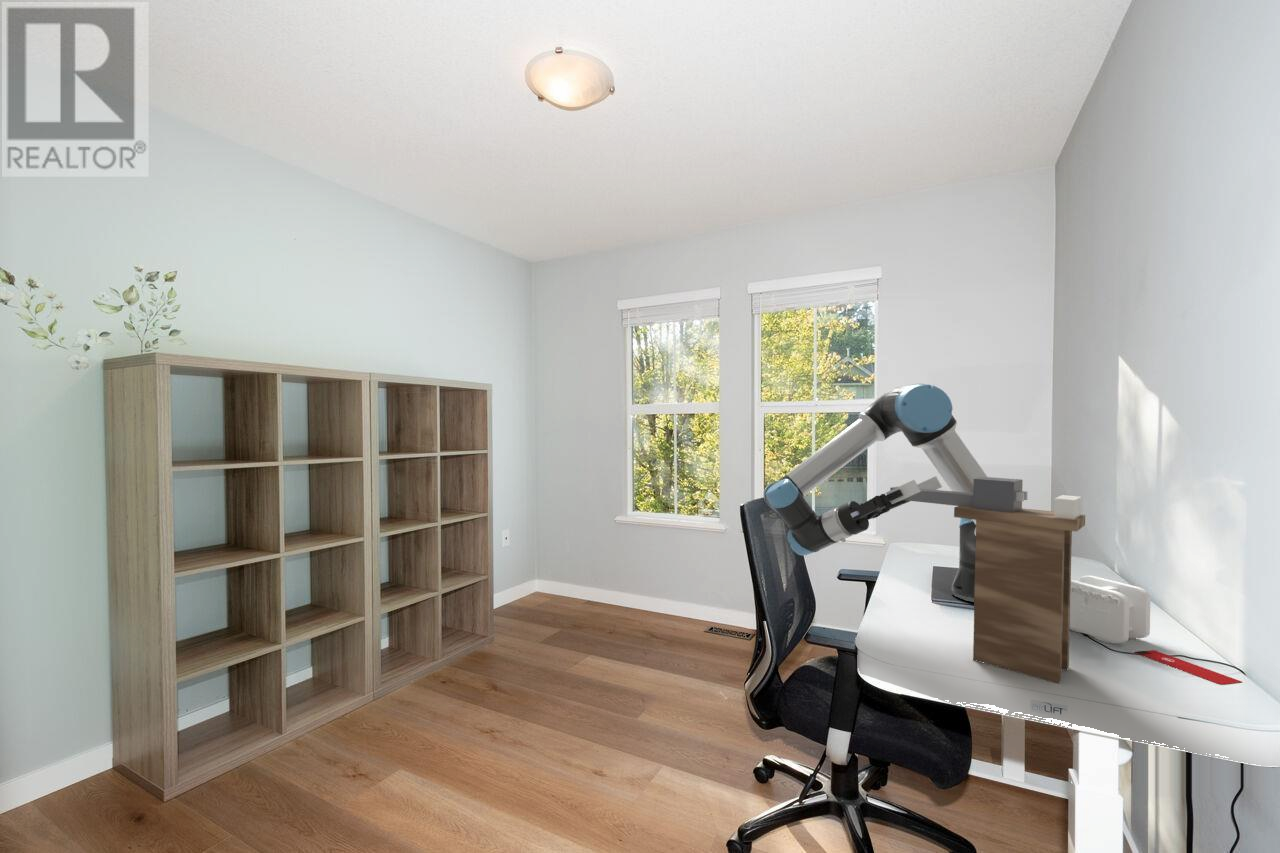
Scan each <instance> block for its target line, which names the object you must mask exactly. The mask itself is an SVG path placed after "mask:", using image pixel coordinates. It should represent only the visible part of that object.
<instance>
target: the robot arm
mask: <svg viewBox="0 0 1280 853" xmlns="http://www.w3.org/2000/svg"><path fill="white" fill-rule="evenodd" d="M953 410H954V408H953V404H952V401H951V398H950V397H949V396H948V394H947V393H946V392H945V391H944V390H943V389H941V388H939V387H938V386H935V385H932V384H925V383H915V384H910V385H907V386H899V387H893V388H892V389H889V390H887V391H886V392H884V393H883V394H882V395H881V396H880V397H878V398H877V399H876V400H874V401H873V402H872V403H871V404H870V405H868V406H867V407H866V408H865V409H864V410H862V411H861V412H860V413H858V419H857V420H855V421H854V422H852V424H850V425H849V426H848V427H846V428H844V430H842V431H840V433H839V434H838V435H836V436H835V437H834V438H832V439H831V440H830V441H828V442H827V443H826V444H824V445H822V447H821V448H819V449H818V450H816V451H815V452H814V453H812V454H811V455H810V456H809V457H807V458H806V459H805V460H804V461H802V462H801V463H800V464H798V465H797V466H795V467H794V468H793V469H792V470H790V471H789V472H788V473H786V474H785V475H784V476H783V477H781V478H780V479H778V480H777V481H773V482H770V483H768V484H767V485H766V486H765V488H764V491H763V499H764V501H765V504H766V505H767V506H768V507H769V508H770V509H771V510H774V512H775V513H777V515H778V516H780V518H781V519H782V521H784V523H785V524H786V525H787V526H788V528H789V530H788V531H787V536H786V537H787V541H788V543H789V545H790V548H791V549H792V551H793V552H794V553H795V554H797V555H798V556H807V555H810V554H813V553H817V552H819V551H821V550H823V549H825V548H827V547H829V546H832V545H833V544H836V543H839V542H841V543H845V542H846V541H847V540H846V539H848V538H850V537H852V536H855V535H858V534H860V533H863V532H864V531H867V530H868V528H869V527H870V522H869V520H871V519H872V520H873V519H877V518H878V517H879V516H881V515H883V514H885V513H888V512H890V510H893V509H895V508H897V507H899V506H902V505H905V504H907V503H909V502H911V501H907V500H903V499H905V498H907V497H910V496H912V495H914V494H916V493H919V492H921V491H920V489H931V490H940V489H942V488H943V486H942V485H941V484H942V483H941V482H940V481H939V478H938V477H937V476H936V475H935V476H933V477H931V478H928V479H926V480H924V481H922V482H920V483H917V482H916V480H915V479H913V480H910V481H908V482H905V483H904V484H902V485H899V486H898V487H897V486H896V487H897V488H895V489H893V490H891V491H890V490H889V491H888V490H887V492H885V493H881V494H880V495H875V496H874V497H872V498H871V499H869V500H867V501H865V502H861V503H858V502H857V501H855V500H850V501H846V502H845V503H843V504H841V505H839V506H838V507H837V506H836V507H834V508H831V509H830V510H828V511H826V512H824V513H822V514H820V515H817V513H816V512H815V511H814V510H813V508H812V507H811V506H810V504H809V503H808V502H807V499H805V498H804V497H805V496H807V495H808V494H809V493H810V492H811V491H814V489H815V488H817V487H818V486H820V485H821V484H822V483H823V482H825V481H826V480H827V479H829V478H830V477H832V476H833V475H834V474H835V473H836V472H838V471H840V470H841V468H843V467H845V466H846V465H847V464H848V463H850V462H851V461H853V460H854V459H855V458H856V457H858V456H859V455H861V454H862V453H863V452H865V451H866V450H868V449H869V448H870V447H871V446H872V445H874V444H875V443H877V442H884V441H885V440H887V439H888V438H889V437H891V436H893V435H895V434H897V433H901V432H902V434H903V435H904V436H905V438H906V439H907V441H908V442H909V443H910V445H911V446H912V447H914V448H919V449H921V450H922V451H923V453H924V454H925V455H926V456H927V458H928V459H929V461H930V462H931V464H932V465H933V466H934V468H935V469H936V471H937V472H938V474H939V475H940V476H941V477H942V479H943V481H944V482H945V483H946V485H947V486H948V487H949V489H950V491H953V492H965V493H973V481H974V479H975V478H980V477H988V476H987V474H986V473H985V471H984V470H983V468H982V467H981V465H980V464H979V463H978V461H977V460H976V458H975V457H974V456H973V455H972V453H971V452H970V450H969V448H968V447H967V446H966V444H965V443H964V441H963V440H962V438H961V437H960V436H959V434H958V433H957V432H956V428H957V425H958V424H957V423H958V422H957V420H956V419H955V417H954V415H953V414H952V413H953ZM919 488H920V489H919ZM959 521H960V522H959V526H958V527H959V552H958V555H959V559H958V560H959V564H958V565H959V566H958V569H957V571H956V573H955V576H954V580H953V581H952V584H951V590H952V591H953V592H954V593H956V594H959V595H962V596H966V597H971V598H974V596H975V550H976V520H974V519H966V518H960V520H959Z"/></svg>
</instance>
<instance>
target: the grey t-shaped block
mask: <svg viewBox="0 0 1280 853" xmlns="http://www.w3.org/2000/svg"><path fill="white" fill-rule="evenodd" d="M897 487H899V486H894V487H893V486H892V487H889V488H890V489H889V491H891V490H893V489H895V488H897ZM919 489H920V488H919ZM920 491H921V492H919V493H916V494H914V495H912V496H910V497H907V498H905V499H903V500H907V501H910V502H917V503H927V504H936V505H946V506H954V507H957V506H964V507H973V508H974V509H983V510H993V511H1002V512H1011V513H1014V512H1016V511H1019V510H1021V509H1022V508H1023V502H1024V501H1027V500H1028V493H1029V492H1028V491H1026V490H1025V491H1024V490H1023V479H1021V478H1020V479H1018V478H1004V477H991V476H987V477H980V478H975V479H974V481H973V493H965V492H953V491H952V490H942V489H941V490H940V489H937V490H931V489H920Z"/></svg>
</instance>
